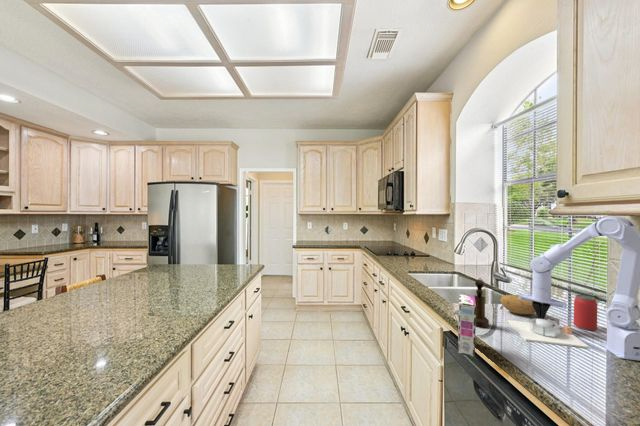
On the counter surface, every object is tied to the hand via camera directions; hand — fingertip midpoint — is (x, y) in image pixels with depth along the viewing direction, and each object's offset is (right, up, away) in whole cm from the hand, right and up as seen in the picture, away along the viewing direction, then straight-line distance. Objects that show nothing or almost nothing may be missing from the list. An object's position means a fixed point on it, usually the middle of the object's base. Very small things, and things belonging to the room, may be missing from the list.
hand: (541, 321), depth 107 cm
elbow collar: (-1, -1, -5) cm, 5 cm away
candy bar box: (-38, -3, -16) cm, 41 cm away
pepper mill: (-23, -2, +2) cm, 23 cm away
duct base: (-4, -2, -6) cm, 7 cm away
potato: (+1, -2, +14) cm, 14 cm away
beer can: (+17, -2, -1) cm, 17 cm away
